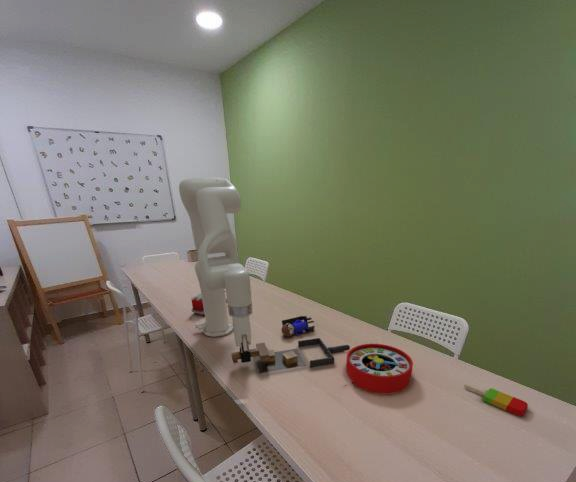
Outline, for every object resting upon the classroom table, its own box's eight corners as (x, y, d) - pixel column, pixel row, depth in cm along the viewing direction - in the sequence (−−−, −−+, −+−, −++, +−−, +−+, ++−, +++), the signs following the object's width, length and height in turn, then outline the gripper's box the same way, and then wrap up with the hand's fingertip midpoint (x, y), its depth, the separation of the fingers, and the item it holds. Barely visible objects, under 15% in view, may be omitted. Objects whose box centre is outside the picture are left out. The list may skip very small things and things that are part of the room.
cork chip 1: (263, 362, 103) (263, 356, 102) (262, 356, 107) (262, 350, 106) (275, 361, 104) (275, 355, 103) (274, 355, 107) (273, 349, 106)
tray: (259, 375, 98) (259, 373, 98) (254, 357, 109) (254, 355, 108) (306, 368, 101) (306, 365, 101) (296, 351, 112) (296, 348, 112)
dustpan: (310, 370, 100) (310, 361, 99) (298, 348, 114) (298, 340, 112) (358, 362, 104) (359, 353, 102) (341, 342, 117) (341, 334, 116)
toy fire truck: (230, 305, 158) (227, 287, 154) (203, 318, 143) (200, 298, 139) (217, 302, 162) (215, 284, 158) (190, 314, 148) (187, 295, 144)
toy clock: (352, 340, 106) (412, 348, 100) (351, 354, 109) (410, 363, 102) (341, 370, 89) (413, 382, 83) (340, 386, 91) (410, 399, 85)
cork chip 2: (287, 365, 101) (287, 358, 100) (282, 359, 105) (282, 353, 104) (297, 362, 103) (297, 355, 102) (292, 356, 106) (292, 350, 105)
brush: (233, 369, 96) (232, 361, 95) (231, 356, 104) (230, 348, 103) (270, 362, 99) (269, 354, 97) (265, 349, 107) (264, 341, 105)
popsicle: (521, 418, 77) (523, 412, 76) (460, 391, 88) (461, 386, 87) (527, 408, 80) (529, 402, 80) (467, 383, 91) (468, 378, 90)
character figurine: (317, 334, 125) (284, 342, 119) (308, 326, 131) (277, 334, 125) (318, 317, 121) (284, 325, 115) (309, 310, 127) (277, 317, 121)
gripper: (227, 301, 100) (233, 350, 107) (229, 320, 86) (236, 374, 93) (249, 299, 102) (253, 347, 109) (255, 316, 87) (260, 370, 95)
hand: (245, 359), depth 101 cm, fingers closed on brush, 2 cm apart
